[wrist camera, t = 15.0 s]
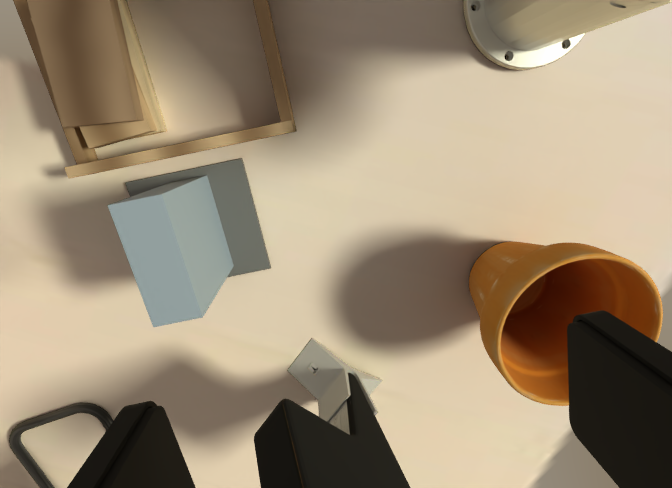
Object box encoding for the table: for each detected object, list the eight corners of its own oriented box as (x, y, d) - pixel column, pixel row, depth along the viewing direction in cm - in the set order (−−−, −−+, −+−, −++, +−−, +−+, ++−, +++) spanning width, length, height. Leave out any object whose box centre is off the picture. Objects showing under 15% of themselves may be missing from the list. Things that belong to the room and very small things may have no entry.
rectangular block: (207, 175, 39) (161, 194, 28) (233, 266, 42) (202, 317, 31) (168, 183, 39) (107, 205, 28) (197, 273, 42) (153, 327, 31)
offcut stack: (128, -7, 35) (102, -26, 31) (172, 133, 38) (153, 134, 34) (47, 11, 35) (10, -6, 31) (98, 148, 38) (71, 151, 34)
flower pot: (589, 238, 44) (697, 281, 31) (534, 345, 47) (612, 422, 35) (475, 201, 42) (542, 232, 29) (427, 315, 46) (469, 386, 33)
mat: (242, 158, 39) (241, 158, 39) (270, 267, 43) (270, 268, 42) (127, 182, 40) (125, 182, 39) (165, 288, 43) (163, 290, 43)
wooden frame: (253, -67, 34) (244, -92, 30) (296, 131, 39) (294, 131, 35) (20, -17, 34) (-17, -36, 30) (92, 173, 39) (68, 178, 35)
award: (268, 359, 46) (187, 739, 17) (292, 326, 45) (250, 674, 16) (369, 417, 49) (444, 822, 20) (395, 388, 48) (510, 771, 19)
